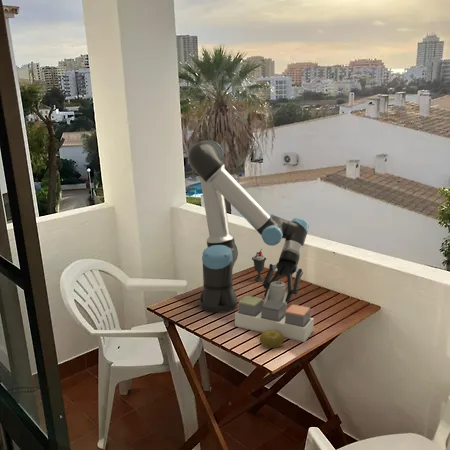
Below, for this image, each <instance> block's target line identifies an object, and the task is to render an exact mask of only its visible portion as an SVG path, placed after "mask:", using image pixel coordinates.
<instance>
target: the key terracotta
mask: <svg viewBox="0 0 450 450" xmlns="http://www.w3.org/2000/svg"><path fill="white" fill-rule="evenodd" d="M310 318H311V307H309V306H308V307H307V306H303V305H297V304H293V303H292V304H291V305H290V306H289V307H288V308H286V311H285V323H286V324H291V325H295V326H300V327H305V326H306V324H307V323H308V322H309V321H310Z"/></svg>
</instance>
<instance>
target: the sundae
mask: <svg viewBox="0 0 450 450" xmlns="http://www.w3.org/2000/svg"><path fill="white" fill-rule="evenodd" d="M266 260H267V258H266V257H265V255H264V253H263V252H262V249H261V248H260V250H259V252H256V254H255V255H254V256H253V257H251V261H253V265H254V270H255V271H256V273H257V276H256V277H254V278H253V280H254V281H257V282H262V281H263V282H264V280H265V278H264V277H262V275H261V272H263V271H264V268H265V262H266Z"/></svg>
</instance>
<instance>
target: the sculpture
mask: <svg viewBox="0 0 450 450" xmlns="http://www.w3.org/2000/svg"><path fill="white" fill-rule="evenodd" d="M284 340H285V338H284V337H283V335H282V334H281V333H280V332H279V331H276V330H272V331H271V330H267V331H264V332H263V333H262V332H261V333H260V336H259V342H260V344H261V345H262V346H263V347H265V348H269V349H275V348H278V347H281V346H282V345H283V343H284V342H285V341H284Z"/></svg>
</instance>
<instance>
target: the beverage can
mask: <svg viewBox="0 0 450 450" xmlns="http://www.w3.org/2000/svg"><path fill="white" fill-rule="evenodd" d="M285 292H287V285H286V283H285V282H284V281H280V280H278V281H274V282H271V283H270V286H269V300H272V301H277V302H283V299H284V295H285Z"/></svg>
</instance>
